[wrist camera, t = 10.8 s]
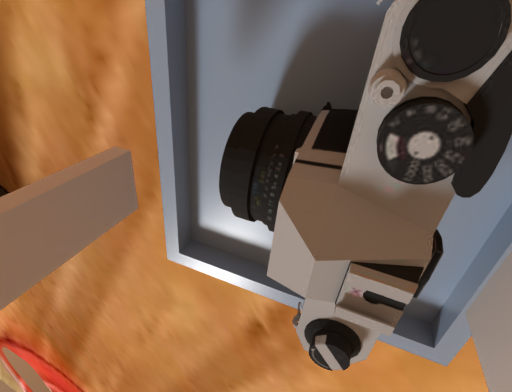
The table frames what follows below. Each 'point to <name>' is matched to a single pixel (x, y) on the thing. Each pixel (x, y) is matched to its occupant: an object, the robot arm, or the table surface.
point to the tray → (290, 102)
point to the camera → (377, 171)
